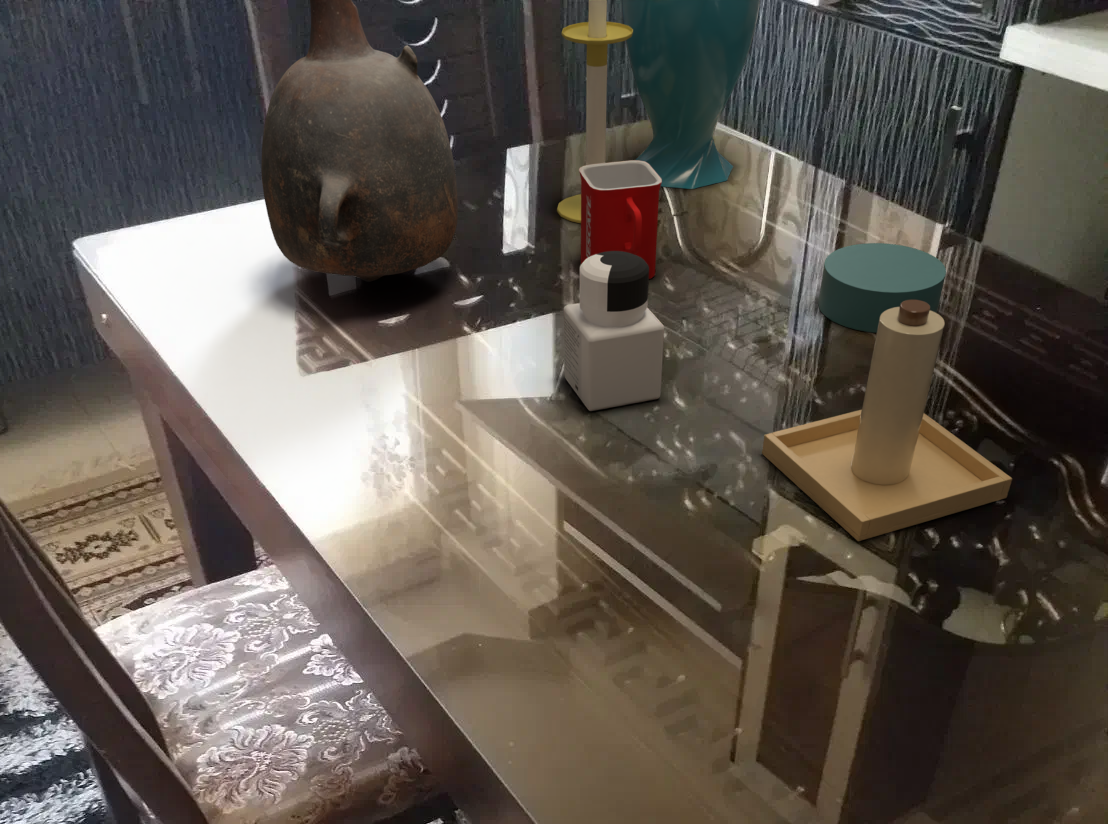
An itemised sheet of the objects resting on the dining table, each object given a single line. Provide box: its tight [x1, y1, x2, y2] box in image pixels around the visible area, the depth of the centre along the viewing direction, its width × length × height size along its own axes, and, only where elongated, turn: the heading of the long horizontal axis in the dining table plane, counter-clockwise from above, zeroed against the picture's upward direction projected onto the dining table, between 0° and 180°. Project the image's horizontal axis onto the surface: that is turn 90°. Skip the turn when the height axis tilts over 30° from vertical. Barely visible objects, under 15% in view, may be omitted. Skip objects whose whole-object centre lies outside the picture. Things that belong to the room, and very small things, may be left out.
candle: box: [556, 0, 633, 224], centre depth 137 cm, size 10×10×38 cm
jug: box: [260, 0, 459, 283], centre depth 125 cm, size 24×21×30 cm
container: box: [563, 251, 665, 412], centre depth 112 cm, size 8×8×13 cm
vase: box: [621, 0, 761, 190], centre depth 149 cm, size 17×17×30 cm
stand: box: [817, 242, 947, 334], centre depth 127 cm, size 13×13×4 cm
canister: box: [851, 300, 946, 485], centre depth 99 cm, size 5×5×15 cm
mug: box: [578, 159, 662, 280], centre depth 132 cm, size 12×8×11 cm
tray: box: [761, 409, 1013, 542], centre depth 103 cm, size 16×16×2 cm
